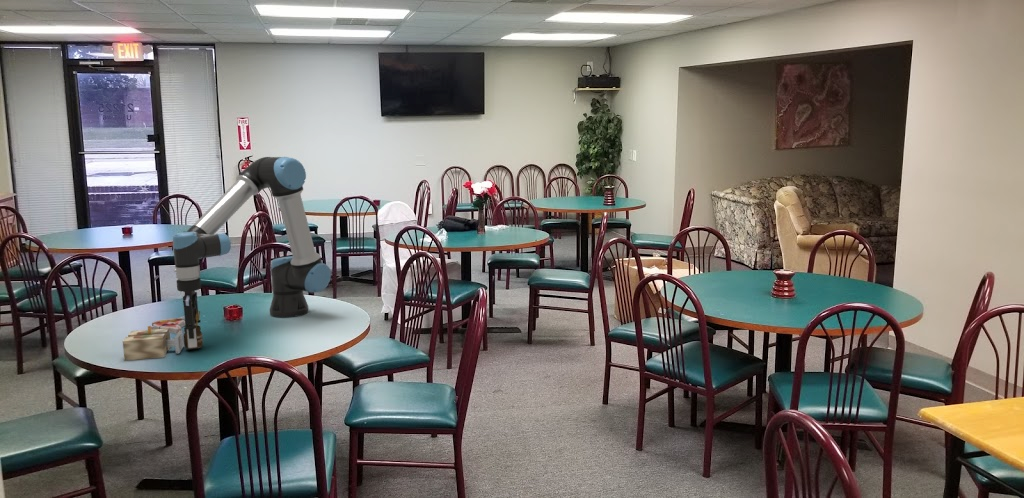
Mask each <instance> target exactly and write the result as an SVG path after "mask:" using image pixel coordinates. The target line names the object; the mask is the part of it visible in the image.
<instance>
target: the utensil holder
mask: <svg viewBox="0 0 1024 498" xmlns="http://www.w3.org/2000/svg"><path fill="white" fill-rule="evenodd" d="M198 314H199V316H198ZM198 314H197V313H196V321H197V322H196V325H195V328H196V338H197V347H194V348H188V338H187V330H184V329H183V332H184V333H183V340H184V348H185V349H187V350H196V349H199V348H202V347H203V345H204V340H203V332H202V331H201V325H199V326H197V324H199V323H198V320H200V319H201V318H200V315H201V311H200V310H198ZM184 321H185V320H184ZM183 323H185V322H183ZM183 327H185V325H184V326H183Z"/></svg>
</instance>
